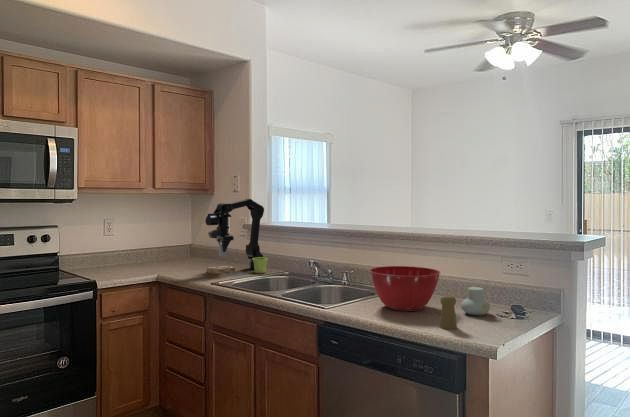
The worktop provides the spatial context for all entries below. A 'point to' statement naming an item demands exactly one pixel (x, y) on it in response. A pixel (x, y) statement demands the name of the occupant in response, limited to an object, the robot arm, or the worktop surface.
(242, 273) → the pad
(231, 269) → the socket block
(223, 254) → the plug
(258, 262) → the plant pot
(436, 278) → the mixing bowl
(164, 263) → the worktop surface
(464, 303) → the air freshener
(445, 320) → the cork
